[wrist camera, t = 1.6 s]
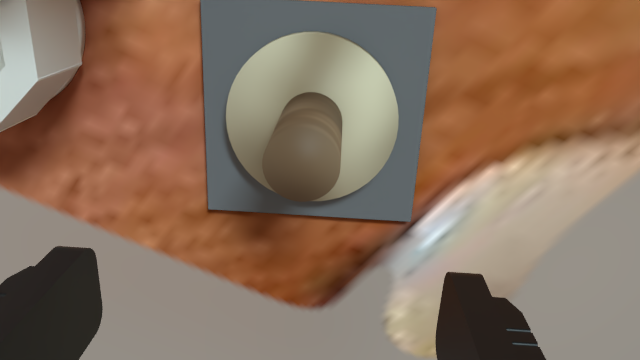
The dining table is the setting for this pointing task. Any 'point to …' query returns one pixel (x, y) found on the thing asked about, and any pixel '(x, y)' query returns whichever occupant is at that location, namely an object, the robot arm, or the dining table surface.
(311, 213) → the mat
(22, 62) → the bowl
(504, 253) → the dining table surface
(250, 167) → the lid
